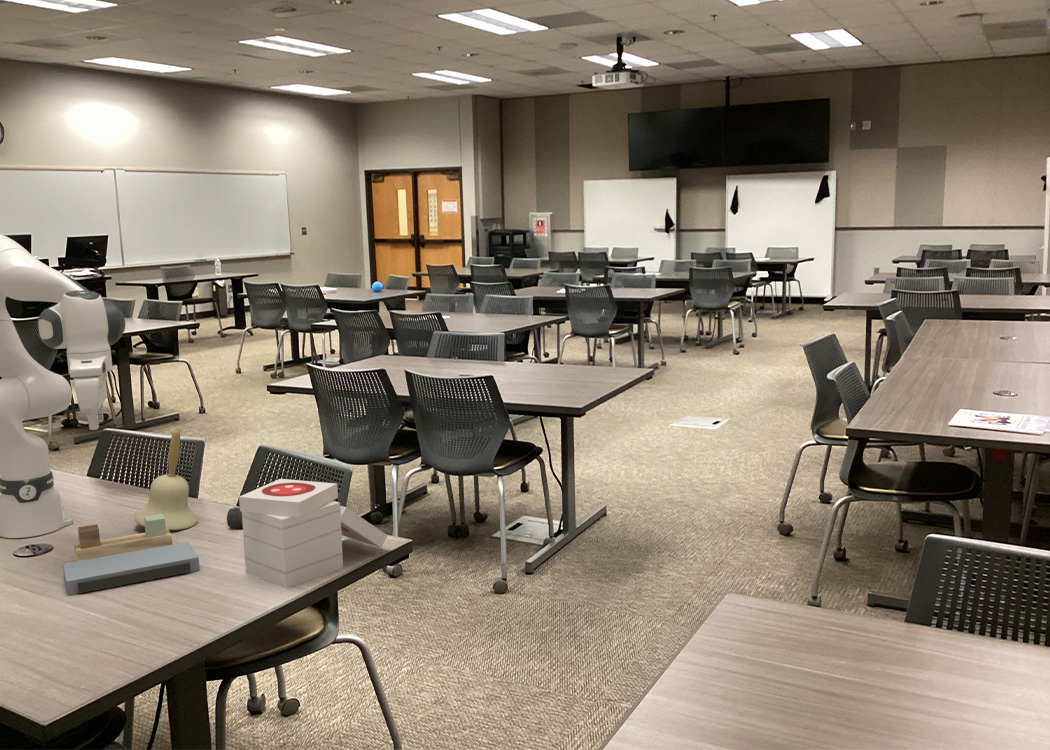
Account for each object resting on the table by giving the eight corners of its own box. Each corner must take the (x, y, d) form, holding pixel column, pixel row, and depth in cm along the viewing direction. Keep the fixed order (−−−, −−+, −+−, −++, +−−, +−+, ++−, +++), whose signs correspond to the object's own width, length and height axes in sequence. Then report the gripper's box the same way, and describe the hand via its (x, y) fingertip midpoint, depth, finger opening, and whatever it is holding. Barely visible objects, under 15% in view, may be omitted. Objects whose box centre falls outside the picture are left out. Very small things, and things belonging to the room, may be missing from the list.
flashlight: (225, 531, 227) (223, 510, 227) (234, 524, 233) (232, 503, 232) (285, 531, 226) (283, 510, 225) (292, 524, 231) (291, 504, 230)
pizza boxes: (393, 553, 209) (390, 476, 206) (282, 593, 186) (277, 508, 184) (341, 536, 221) (337, 464, 218) (231, 572, 199) (225, 492, 196)
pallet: (76, 561, 208) (74, 544, 207) (169, 545, 217) (167, 528, 217) (77, 567, 203) (76, 550, 203) (172, 551, 213) (171, 534, 212)
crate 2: (145, 533, 214) (144, 516, 213) (163, 530, 216) (162, 513, 215) (148, 537, 210) (146, 521, 210) (166, 534, 212) (164, 518, 212)
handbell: (146, 511, 240) (157, 419, 236) (204, 520, 240) (216, 428, 237) (123, 530, 224) (134, 432, 221) (185, 539, 225) (197, 442, 222)
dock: (64, 576, 198) (62, 563, 197) (189, 554, 211) (188, 541, 210) (68, 596, 187) (66, 583, 186) (200, 571, 199) (199, 558, 199)
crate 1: (79, 544, 207) (77, 527, 206) (98, 540, 209) (97, 524, 208) (80, 549, 204) (79, 532, 203) (100, 545, 206) (98, 528, 205)
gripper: (80, 360, 211) (86, 419, 213) (68, 370, 192) (75, 435, 193) (110, 358, 213) (116, 416, 215) (100, 368, 194) (107, 432, 195)
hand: (96, 425), depth 204 cm, fingers open, 8 cm apart
